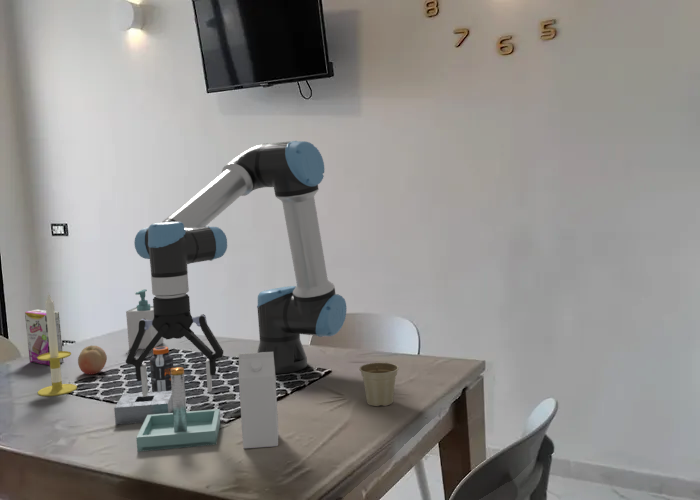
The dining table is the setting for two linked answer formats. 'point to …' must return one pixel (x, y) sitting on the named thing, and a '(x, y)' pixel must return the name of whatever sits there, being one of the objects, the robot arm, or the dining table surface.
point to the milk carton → (258, 400)
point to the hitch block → (142, 406)
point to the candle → (54, 357)
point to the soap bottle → (134, 318)
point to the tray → (161, 432)
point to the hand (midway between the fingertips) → (177, 392)
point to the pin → (179, 399)
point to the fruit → (92, 360)
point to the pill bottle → (161, 369)
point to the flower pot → (379, 382)
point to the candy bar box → (40, 335)
